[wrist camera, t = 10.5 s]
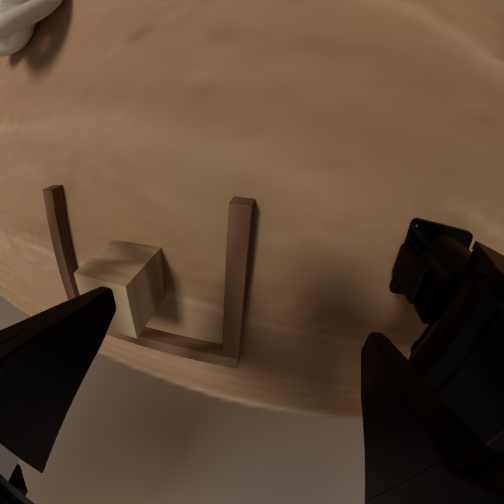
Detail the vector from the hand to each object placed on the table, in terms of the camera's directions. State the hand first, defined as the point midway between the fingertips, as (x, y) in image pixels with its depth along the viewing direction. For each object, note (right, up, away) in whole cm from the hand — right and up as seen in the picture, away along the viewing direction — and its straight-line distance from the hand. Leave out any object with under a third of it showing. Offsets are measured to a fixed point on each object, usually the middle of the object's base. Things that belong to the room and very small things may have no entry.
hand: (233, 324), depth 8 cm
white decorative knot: (-22, +29, +3) cm, 36 cm away
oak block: (-10, +1, +15) cm, 18 cm away
